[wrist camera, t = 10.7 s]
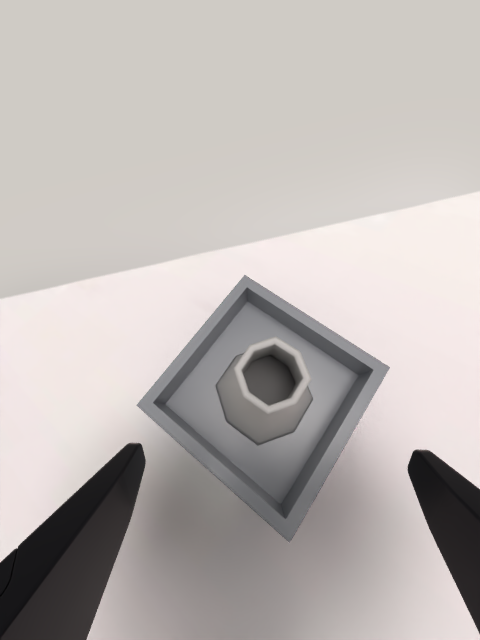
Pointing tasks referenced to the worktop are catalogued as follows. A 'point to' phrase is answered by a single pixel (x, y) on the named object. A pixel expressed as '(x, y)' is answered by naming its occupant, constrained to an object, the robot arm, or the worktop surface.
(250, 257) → the worktop surface
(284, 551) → the worktop surface
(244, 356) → the flask
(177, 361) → the box
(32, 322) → the worktop surface
